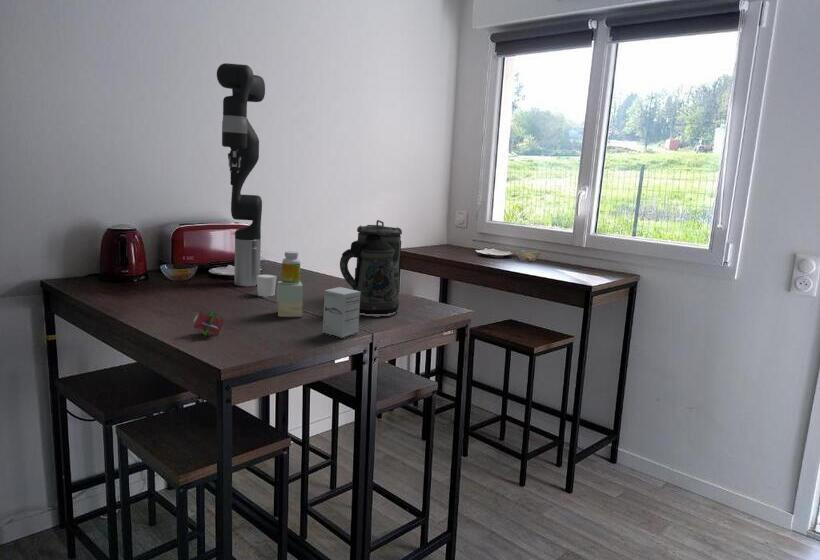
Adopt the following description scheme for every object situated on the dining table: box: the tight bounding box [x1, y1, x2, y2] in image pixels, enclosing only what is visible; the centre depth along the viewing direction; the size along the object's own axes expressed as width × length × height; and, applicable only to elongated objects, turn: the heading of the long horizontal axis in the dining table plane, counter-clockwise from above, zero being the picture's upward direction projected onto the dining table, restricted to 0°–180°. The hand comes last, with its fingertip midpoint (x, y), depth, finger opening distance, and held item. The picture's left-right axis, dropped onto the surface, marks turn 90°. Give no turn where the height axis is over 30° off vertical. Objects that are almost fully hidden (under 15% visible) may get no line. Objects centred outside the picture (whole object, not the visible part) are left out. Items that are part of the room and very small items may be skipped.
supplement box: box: [322, 286, 361, 337], centre depth 168 cm, size 7×7×13 cm
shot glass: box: [256, 273, 277, 298], centre depth 210 cm, size 7×7×7 cm
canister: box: [354, 219, 403, 298], centre depth 214 cm, size 16×16×28 cm
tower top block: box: [276, 280, 304, 302], centre depth 185 cm, size 7×7×5 cm
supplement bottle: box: [281, 250, 301, 285], centre depth 184 cm, size 5×5×10 cm
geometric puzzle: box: [193, 309, 225, 338], centre depth 160 cm, size 7×7×8 cm
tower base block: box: [276, 298, 304, 317], centre depth 186 cm, size 7×7×5 cm
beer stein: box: [339, 235, 400, 314], centre depth 195 cm, size 16×19×25 cm
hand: (234, 184), depth 190 cm, fingers open, 8 cm apart
